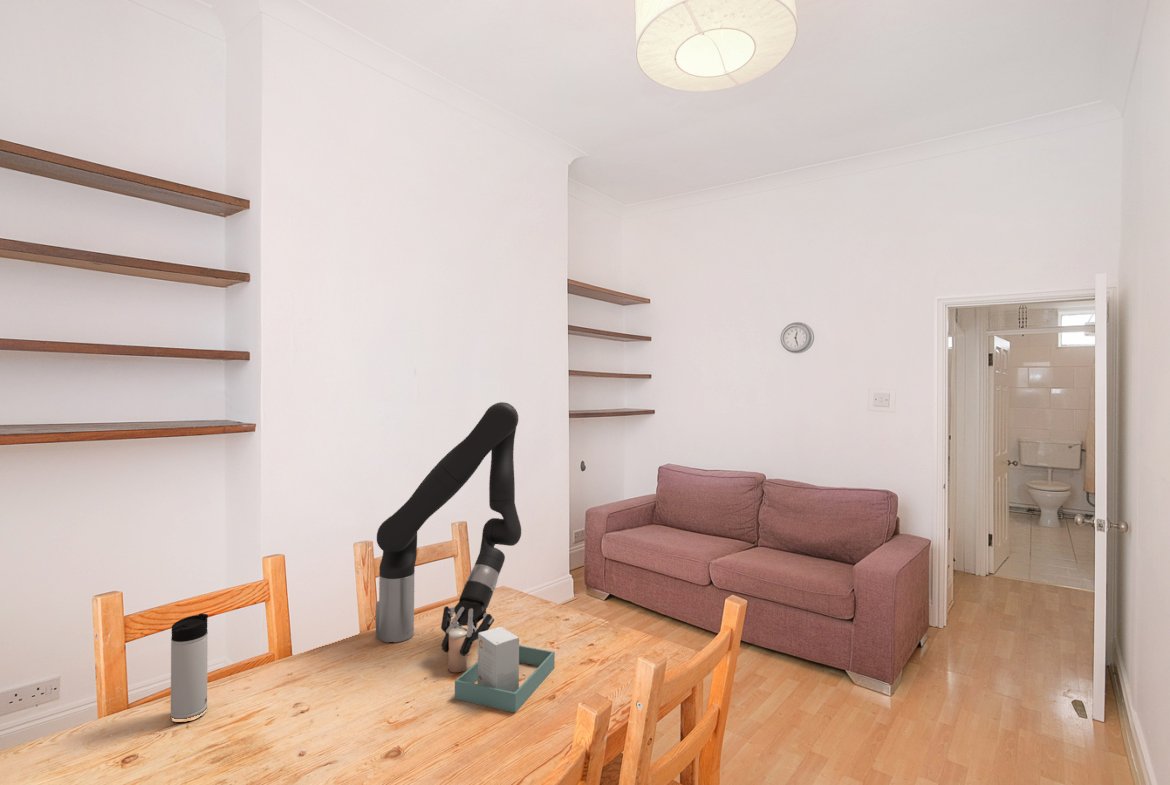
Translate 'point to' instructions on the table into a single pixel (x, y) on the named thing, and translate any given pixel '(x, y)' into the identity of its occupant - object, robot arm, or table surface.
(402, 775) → the table surface
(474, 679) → the tray
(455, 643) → the jar
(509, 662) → the small box
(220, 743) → the table surface
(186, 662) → the travel mug
